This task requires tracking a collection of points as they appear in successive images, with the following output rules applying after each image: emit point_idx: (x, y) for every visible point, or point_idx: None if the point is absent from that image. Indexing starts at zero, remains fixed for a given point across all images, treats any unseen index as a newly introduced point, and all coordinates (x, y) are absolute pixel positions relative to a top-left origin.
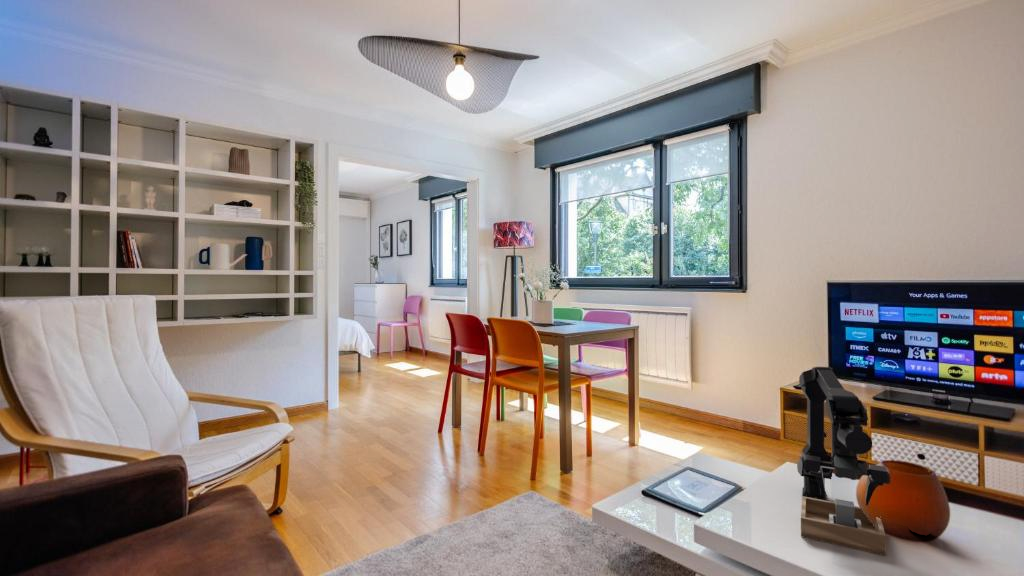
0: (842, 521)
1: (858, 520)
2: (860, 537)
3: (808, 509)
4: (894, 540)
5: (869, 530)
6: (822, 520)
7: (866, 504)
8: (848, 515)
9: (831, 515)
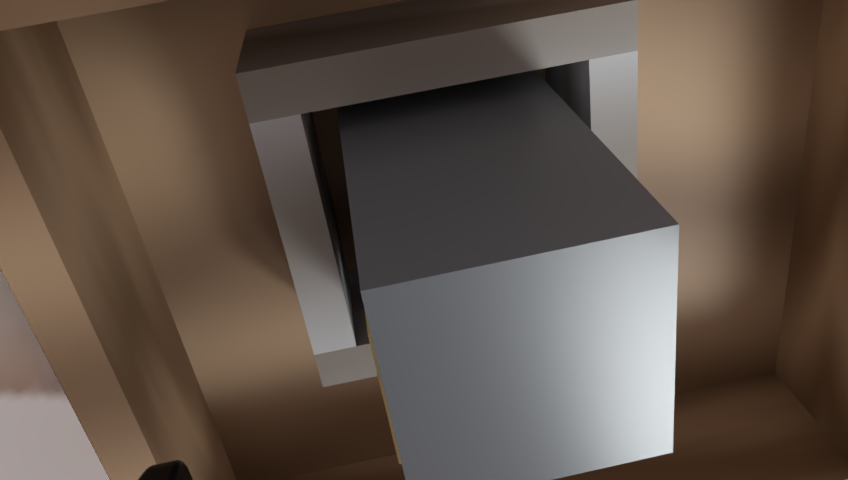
0: (495, 124)
1: (336, 357)
2: None
3: (771, 396)
4: (54, 374)
5: (253, 374)
6: None
7: (165, 469)
8: (437, 185)
9: None
